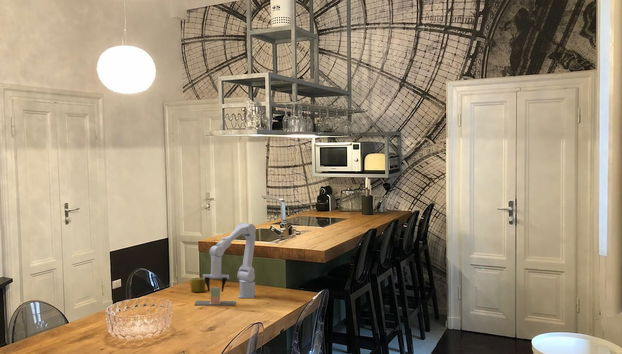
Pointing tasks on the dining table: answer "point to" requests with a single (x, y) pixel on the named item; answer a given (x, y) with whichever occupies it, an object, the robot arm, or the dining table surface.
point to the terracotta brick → (215, 299)
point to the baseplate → (221, 303)
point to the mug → (198, 284)
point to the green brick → (215, 291)
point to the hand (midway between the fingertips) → (215, 291)
